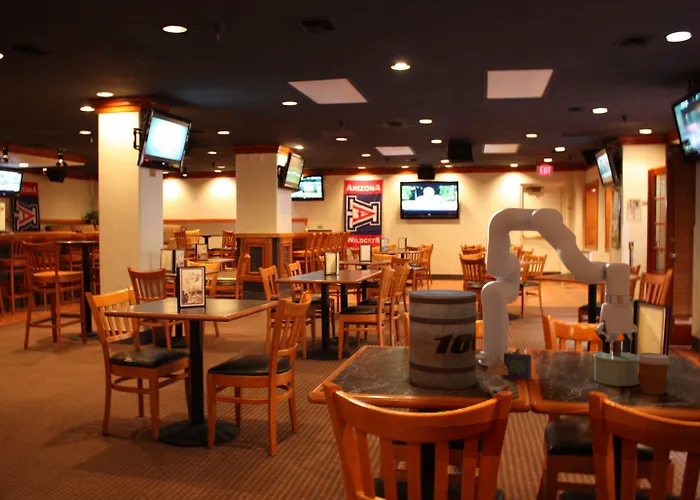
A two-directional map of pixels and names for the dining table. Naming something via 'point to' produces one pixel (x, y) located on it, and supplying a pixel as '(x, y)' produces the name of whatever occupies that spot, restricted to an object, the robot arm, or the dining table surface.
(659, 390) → the disposable coffee cup
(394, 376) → the dining table surface
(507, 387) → the oil lamp
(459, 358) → the barrel
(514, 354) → the flask
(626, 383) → the canister
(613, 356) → the lid
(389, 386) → the dining table surface
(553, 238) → the robot arm
